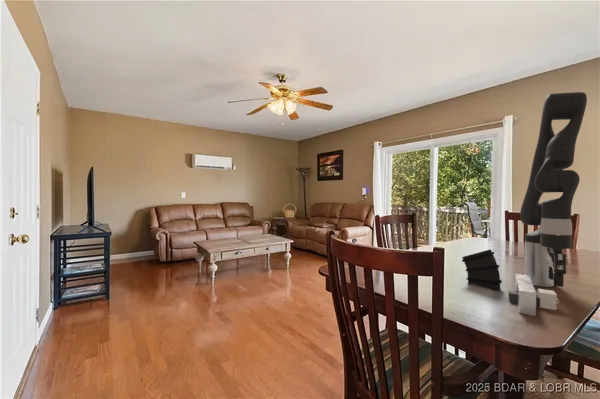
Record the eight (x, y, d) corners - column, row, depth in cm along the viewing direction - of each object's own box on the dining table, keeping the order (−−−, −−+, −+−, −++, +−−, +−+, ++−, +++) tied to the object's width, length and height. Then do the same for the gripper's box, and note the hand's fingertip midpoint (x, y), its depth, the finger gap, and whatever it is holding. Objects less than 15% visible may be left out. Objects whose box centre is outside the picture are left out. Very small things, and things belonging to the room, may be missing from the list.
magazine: (506, 289, 103) (487, 250, 108) (472, 294, 113) (456, 258, 118) (511, 287, 105) (492, 248, 110) (476, 292, 115) (461, 257, 120)
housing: (518, 312, 86) (519, 290, 86) (515, 292, 104) (515, 273, 104) (535, 316, 84) (536, 293, 84) (529, 294, 102) (529, 275, 102)
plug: (509, 302, 95) (509, 287, 95) (508, 298, 98) (508, 284, 98) (559, 310, 88) (560, 295, 88) (556, 306, 91) (556, 291, 91)
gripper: (537, 229, 97) (537, 275, 97) (544, 233, 85) (543, 286, 85) (566, 231, 93) (566, 279, 93) (577, 235, 81) (577, 291, 81)
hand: (555, 282), depth 89 cm, fingers open, 8 cm apart
